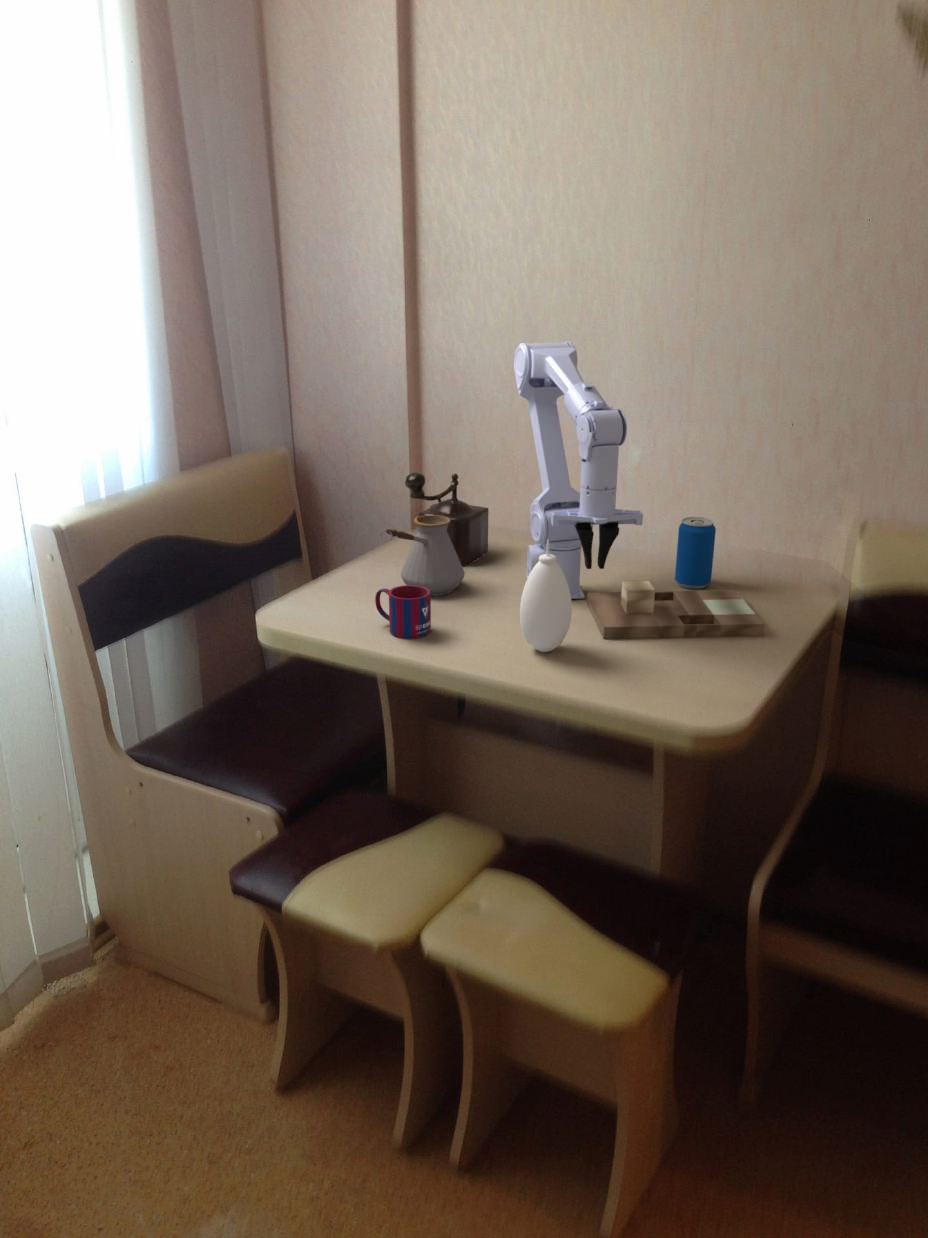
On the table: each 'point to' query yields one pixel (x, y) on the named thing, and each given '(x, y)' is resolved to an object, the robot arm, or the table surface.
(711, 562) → the beverage can
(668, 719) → the table surface
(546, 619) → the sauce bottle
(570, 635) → the table surface
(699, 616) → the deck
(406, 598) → the mug
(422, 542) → the coffee pot
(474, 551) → the coffee grinder
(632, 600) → the block
